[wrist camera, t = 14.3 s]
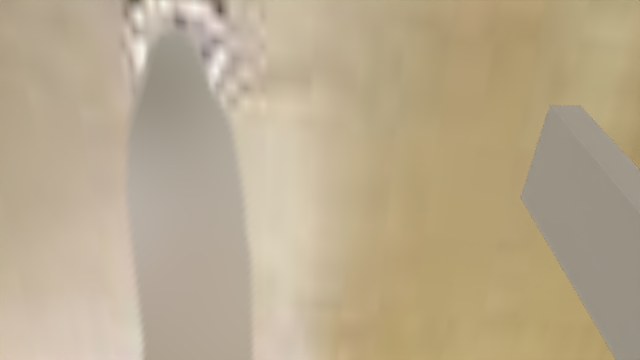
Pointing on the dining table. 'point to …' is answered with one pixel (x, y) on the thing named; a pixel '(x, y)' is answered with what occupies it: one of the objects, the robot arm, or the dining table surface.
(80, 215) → the dining table surface
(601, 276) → the robot arm
